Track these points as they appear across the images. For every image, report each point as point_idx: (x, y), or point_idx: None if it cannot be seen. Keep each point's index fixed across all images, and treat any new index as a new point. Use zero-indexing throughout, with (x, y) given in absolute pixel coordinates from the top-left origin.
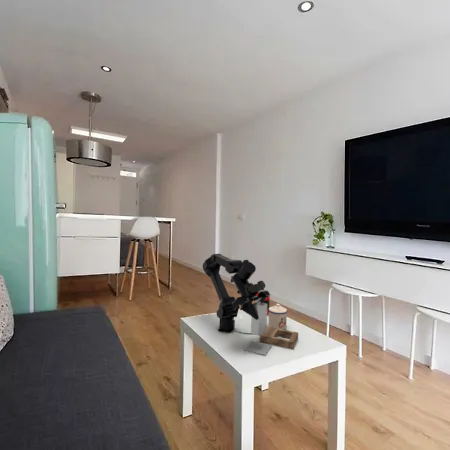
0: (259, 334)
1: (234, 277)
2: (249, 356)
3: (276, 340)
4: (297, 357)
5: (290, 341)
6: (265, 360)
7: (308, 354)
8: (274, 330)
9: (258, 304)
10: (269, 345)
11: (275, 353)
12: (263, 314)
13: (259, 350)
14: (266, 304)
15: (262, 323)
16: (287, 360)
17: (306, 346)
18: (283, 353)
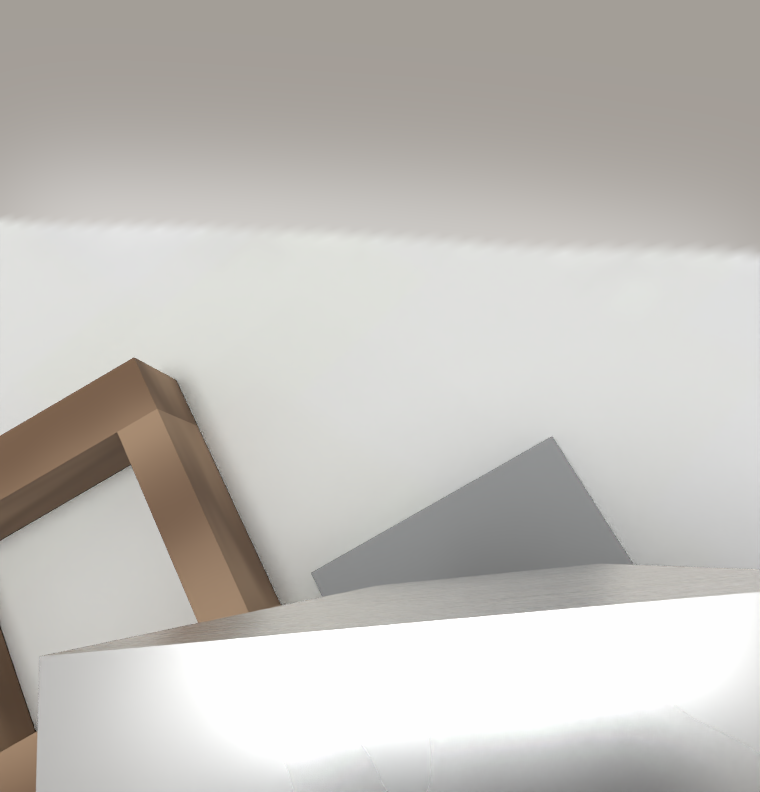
0: (571, 566)
1: None
2: (738, 540)
3: (230, 550)
4: (274, 242)
5: (138, 394)
6: (618, 364)
7: (139, 231)
8: (25, 782)
9: None
10: (337, 585)
11: (403, 421)
12: (451, 591)
13: (544, 558)
14: (128, 652)
15: (493, 579)
16: (406, 248)
17: (10, 355)
18: (327, 374)
